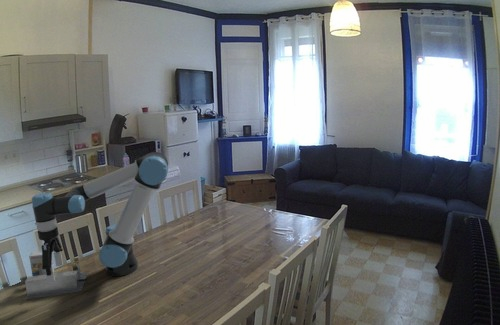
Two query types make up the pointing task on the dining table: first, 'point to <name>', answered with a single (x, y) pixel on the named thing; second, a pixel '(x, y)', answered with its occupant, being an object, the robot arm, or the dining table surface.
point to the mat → (58, 292)
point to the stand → (75, 265)
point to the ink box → (37, 257)
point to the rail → (52, 283)
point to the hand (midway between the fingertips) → (55, 272)
